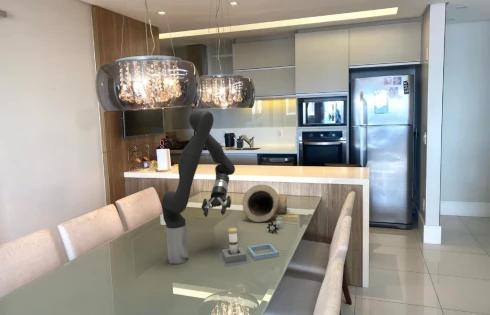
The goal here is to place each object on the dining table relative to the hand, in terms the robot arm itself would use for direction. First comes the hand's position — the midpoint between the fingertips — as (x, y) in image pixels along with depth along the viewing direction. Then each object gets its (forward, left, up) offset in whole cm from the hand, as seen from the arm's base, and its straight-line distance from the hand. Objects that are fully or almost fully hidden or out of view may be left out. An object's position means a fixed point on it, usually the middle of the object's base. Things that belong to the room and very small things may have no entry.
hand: (213, 214), depth 174 cm
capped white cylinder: (+7, -6, -20) cm, 22 cm away
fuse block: (+7, -6, -22) cm, 24 cm away
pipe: (+44, +57, -22) cm, 76 cm away
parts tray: (+21, -6, -22) cm, 31 cm away
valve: (+41, +27, -22) cm, 54 cm away
